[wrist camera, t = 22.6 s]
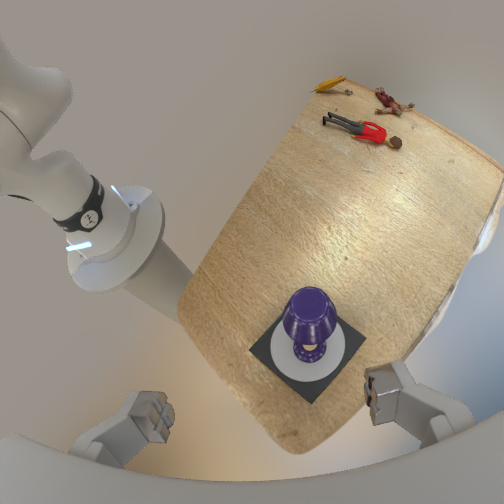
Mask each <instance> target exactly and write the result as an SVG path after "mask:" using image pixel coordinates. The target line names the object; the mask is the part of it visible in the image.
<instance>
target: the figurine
mask: <svg viewBox="0 0 504 504" xmlns="http://www.w3.org/2000/svg"><path fill="white" fill-rule="evenodd" d="M380 91H381V94H380V92H379V88H377V89H375V92H376V93H375V95H376V96H377V97H378V98H379V99H380V100H382V101H383V103H384V106H386V107H388V108H386V109H383V110H379V109H376V110H377V111H375V114H379V113H385V112H388V113H389V112H390V113H396V114H398V115H401V114H402V112H401V111H402V110H404V109H408V108H413V107H414V106H415V105H413V104H412V103H411V104H412V105H411V104H410V105H408V106H406V105H405V106H404V105H401V106H400V105H399V104H397V103H396V102H395V101H394V99H393V98H392V97H391V96H388V95H386V94H385V92H384V88H380Z"/></svg>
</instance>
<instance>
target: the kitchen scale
mask: <svg viewBox="0 0 504 504" xmlns="http://www.w3.org/2000/svg"><path fill="white" fill-rule="evenodd" d="M365 339H366V337H364V336H363V335H362V334H360V333H359V332H358V331H356V330H355V329H354V328H353V327H351V326H350V325H349V324H347V323H346V322H345V321H343V320H342V319H341V318H339V317H338V316H337V324H336V328H335V330H334V332H333V333H332V335H331V336H330V337H329V338H328V339H327V340H325V341H326V345H327V347H326V352H325V354H324V356H323V357H322V358H321V359H320V360H318V361H316V362H314V363H305V362H302V361H301V360H299V359H298V358H297V357H296V356H295V354H294V350H293V345H294V340H292V339H291V338H290V337H289V336H288V335H287V333H286V331H285V329H284V326H283V313H282V314H281V315H280V316H279V317H278V318H277V319H276V320H275V322H274V323H273V324H272V325H271V326H270V327H269V328H268V329H267V330H266V331H265V332H264V334H263V335H262V336H261V337H260V339H259V340H258V341H257V342H256V343H255V344H254V345H253V346H252V347H251V348H250V349H249V351H250V352H251V353H253V354H254V355H255V356H256V357H257V358H258V359H259V360H260V361H261V362H263V363H264V364H265V365H266V366H267V367H268V368H269V369H270V370H272V371H273V372H274V373H275V374H276V375H277V376H278V377H280V378H281V379H282V380H283V381H284V382H285V383H287V384H288V385H289V386H290V387H291V388H293V389H294V390H295V391H296V392H297V393H299V394H300V395H301V396H302V397H303V398H305V399H306V400H307V401H308V402H309V403H311V404H312V403H313V402H314V401H315V399H316V398H317V397H318V396H319V395H320V394H321V393H322V392H323V391H324V389H325V388H326V387H327V386H328V385H329V384H330V383H331V381H332V380H333V379H334V378H335V377H336V376H337V374H338V373H339V372H340V371H341V370H342V368H343V367H344V366H345V365H346V364H347V362H348V361H349V360H350V359H351V357H352V356H353V355H354V354H355V352H356V351H357V350H358V349H359V347H360V346H361V345H362V343H363V342H364V341H365Z"/></svg>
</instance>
